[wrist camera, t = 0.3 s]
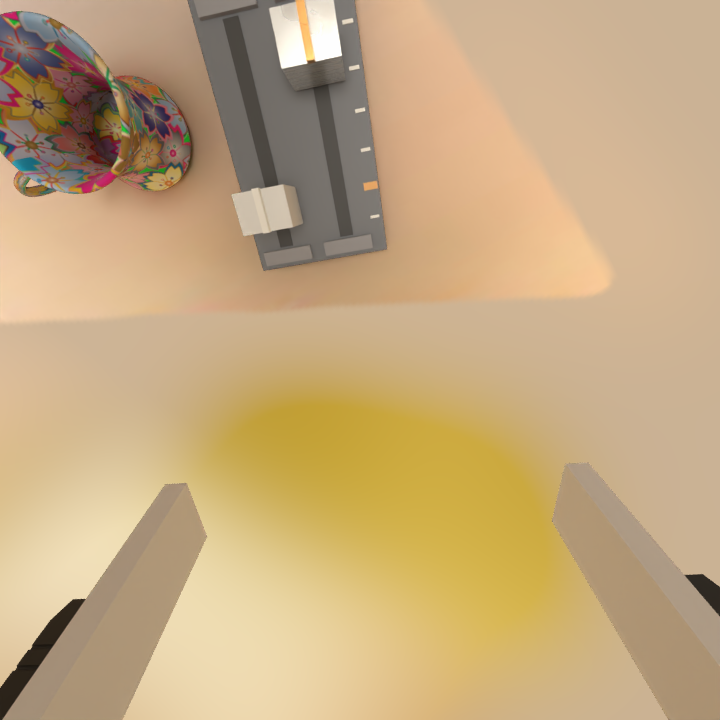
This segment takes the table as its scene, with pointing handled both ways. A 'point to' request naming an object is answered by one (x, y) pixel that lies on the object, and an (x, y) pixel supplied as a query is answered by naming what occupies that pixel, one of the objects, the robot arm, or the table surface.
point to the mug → (81, 115)
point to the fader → (308, 43)
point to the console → (293, 138)
